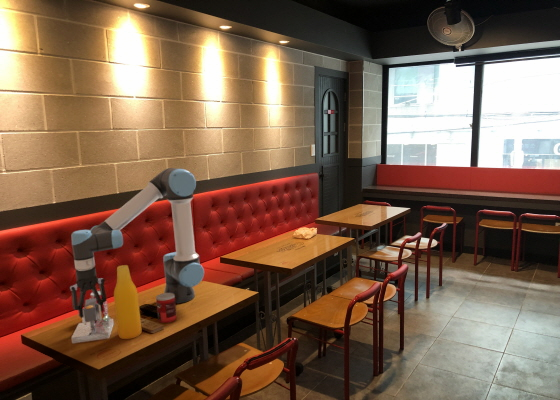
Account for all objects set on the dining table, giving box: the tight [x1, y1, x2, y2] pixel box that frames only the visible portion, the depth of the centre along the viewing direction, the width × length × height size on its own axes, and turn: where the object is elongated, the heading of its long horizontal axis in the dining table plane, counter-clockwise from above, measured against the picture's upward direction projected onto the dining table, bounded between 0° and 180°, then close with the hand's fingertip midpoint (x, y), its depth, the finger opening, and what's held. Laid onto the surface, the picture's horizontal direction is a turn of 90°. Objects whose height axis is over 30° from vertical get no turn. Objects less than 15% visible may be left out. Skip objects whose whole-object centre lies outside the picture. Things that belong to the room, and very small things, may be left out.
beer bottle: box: [113, 264, 143, 340], centre depth 186 cm, size 9×9×29 cm
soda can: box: [89, 290, 109, 321], centre depth 206 cm, size 7×7×12 cm
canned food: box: [155, 292, 178, 324], centre depth 201 cm, size 8×8×11 cm
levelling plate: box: [71, 313, 115, 344], centre depth 191 cm, size 14×14×5 cm
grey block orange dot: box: [83, 298, 97, 328], centre depth 190 cm, size 12×4×11 cm, turn 19°
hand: (92, 321), depth 191 cm, fingers closed on grey block orange dot, 6 cm apart
